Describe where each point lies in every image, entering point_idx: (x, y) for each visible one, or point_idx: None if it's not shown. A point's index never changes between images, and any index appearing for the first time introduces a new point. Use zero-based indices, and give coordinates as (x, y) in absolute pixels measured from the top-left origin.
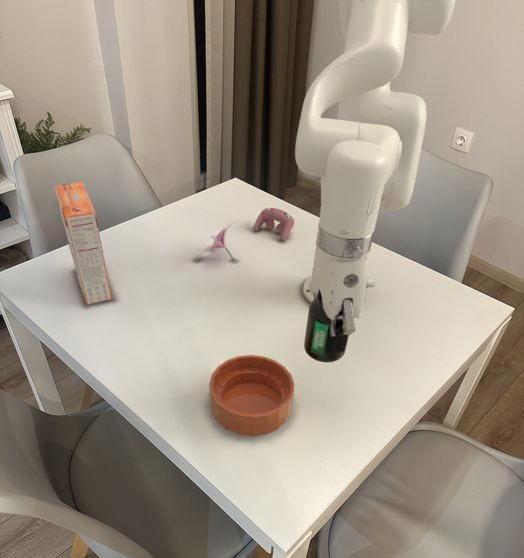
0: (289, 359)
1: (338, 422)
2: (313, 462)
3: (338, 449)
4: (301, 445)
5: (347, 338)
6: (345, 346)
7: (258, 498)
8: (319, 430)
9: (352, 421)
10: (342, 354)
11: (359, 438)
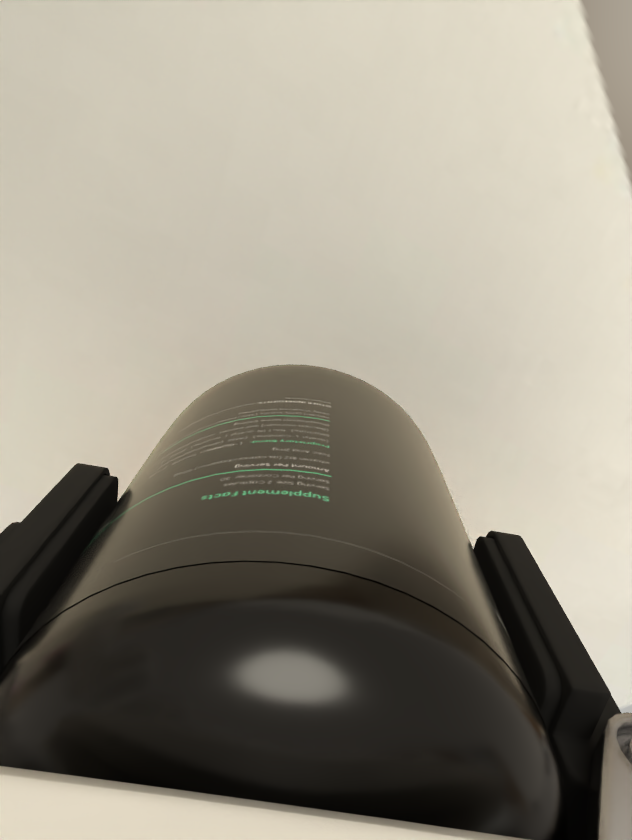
0: (66, 373)
1: (461, 336)
2: (574, 497)
3: (571, 396)
4: (494, 505)
5: (442, 492)
6: (535, 563)
7: (600, 674)
8: (464, 422)
9: (481, 278)
10: (431, 451)
11: (567, 295)
